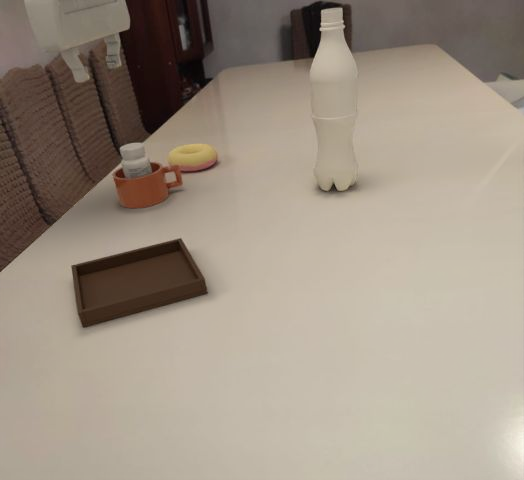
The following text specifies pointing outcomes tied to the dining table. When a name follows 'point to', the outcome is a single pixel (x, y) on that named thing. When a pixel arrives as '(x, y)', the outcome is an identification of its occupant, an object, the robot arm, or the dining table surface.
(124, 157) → the pill bottle
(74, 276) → the tray
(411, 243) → the dining table surface
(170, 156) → the donut
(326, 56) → the water bottle
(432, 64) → the dining table surface
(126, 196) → the mug
